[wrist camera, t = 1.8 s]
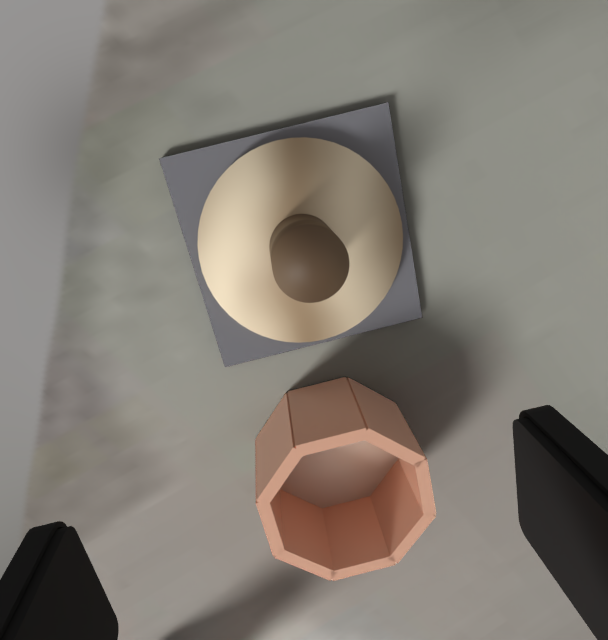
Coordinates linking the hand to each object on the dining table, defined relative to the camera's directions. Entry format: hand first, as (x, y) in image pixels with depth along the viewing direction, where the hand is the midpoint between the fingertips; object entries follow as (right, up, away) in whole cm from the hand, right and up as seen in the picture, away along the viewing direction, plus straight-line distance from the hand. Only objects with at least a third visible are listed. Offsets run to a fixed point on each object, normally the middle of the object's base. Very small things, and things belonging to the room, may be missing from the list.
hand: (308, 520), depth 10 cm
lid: (0, +8, +17) cm, 19 cm away
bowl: (+2, -4, +22) cm, 23 cm away
